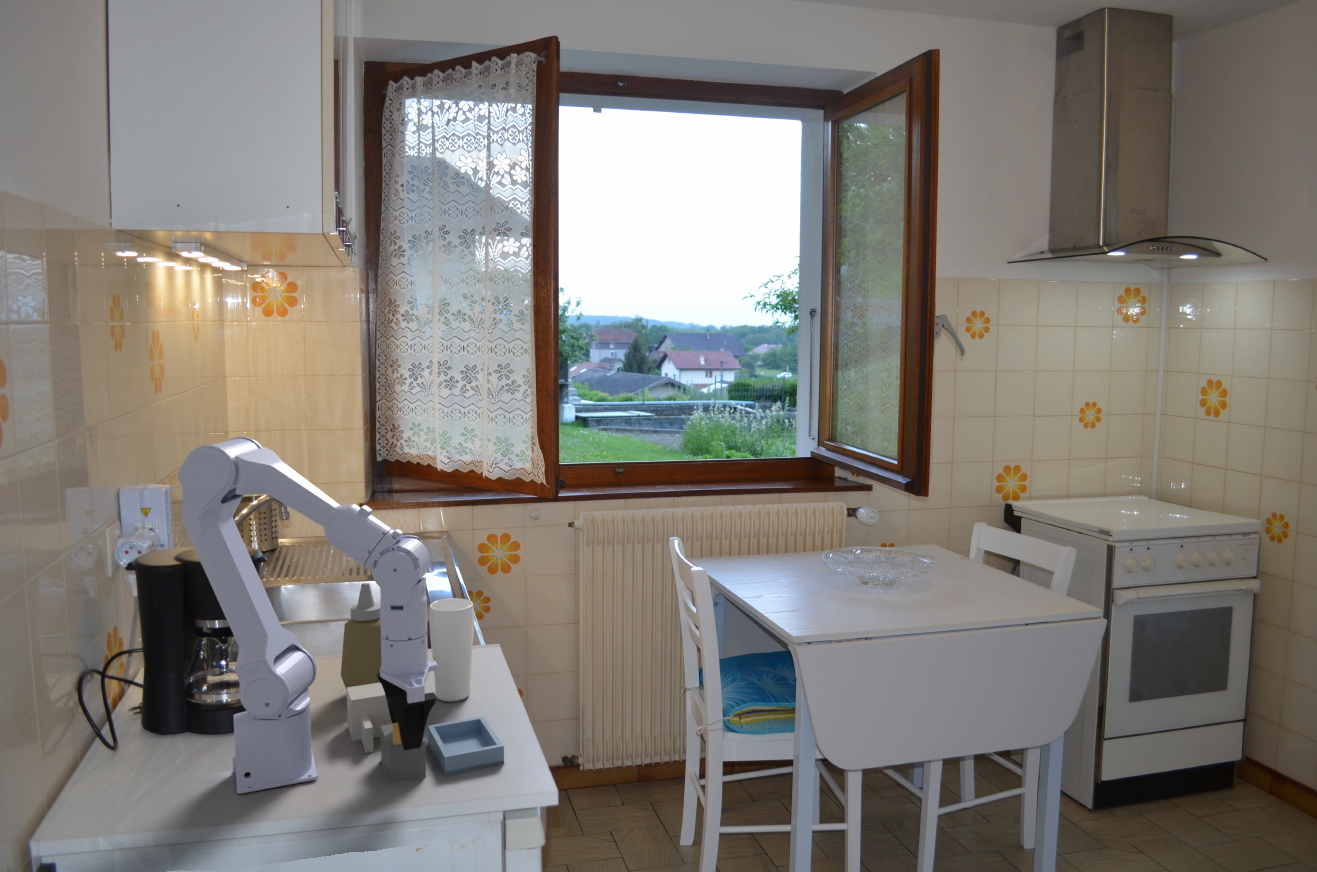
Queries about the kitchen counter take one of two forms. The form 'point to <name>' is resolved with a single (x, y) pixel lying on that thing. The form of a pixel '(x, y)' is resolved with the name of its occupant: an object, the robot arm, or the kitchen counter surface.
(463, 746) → the tray
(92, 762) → the kitchen counter surface
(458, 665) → the drinking glass
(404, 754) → the gray block with tab
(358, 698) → the bay
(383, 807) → the kitchen counter surface
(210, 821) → the kitchen counter surface
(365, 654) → the squeeze bottle
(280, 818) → the kitchen counter surface
